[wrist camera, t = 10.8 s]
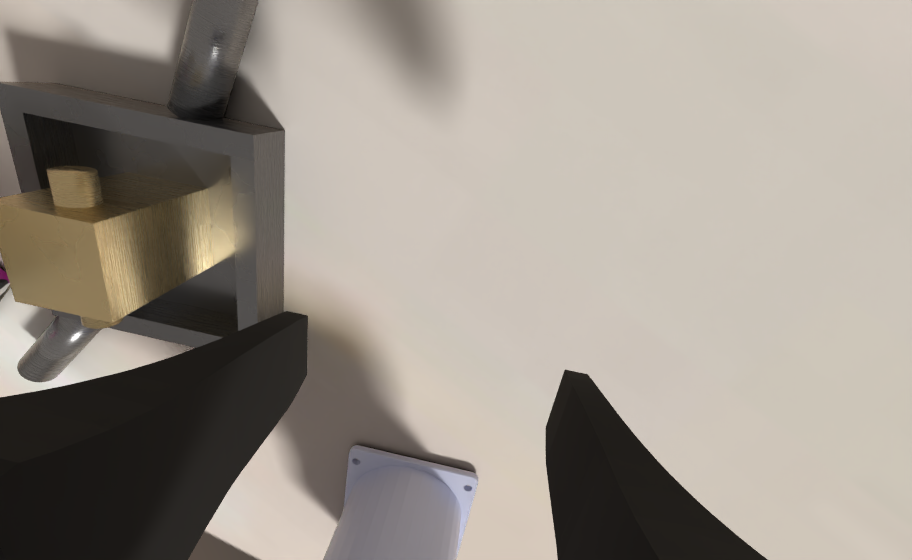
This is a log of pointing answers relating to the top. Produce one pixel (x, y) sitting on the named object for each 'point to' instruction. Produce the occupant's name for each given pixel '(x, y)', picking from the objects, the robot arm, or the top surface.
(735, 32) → the top surface
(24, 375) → the steel shaft
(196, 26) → the steel shaft
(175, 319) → the grey square tray
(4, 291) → the candy bar box
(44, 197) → the brass block with pegs
